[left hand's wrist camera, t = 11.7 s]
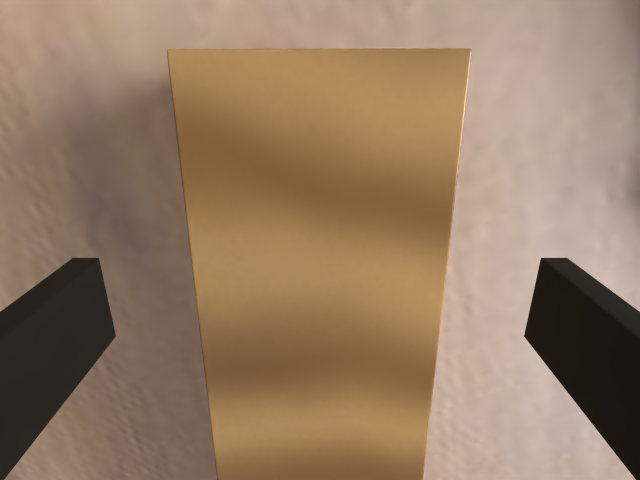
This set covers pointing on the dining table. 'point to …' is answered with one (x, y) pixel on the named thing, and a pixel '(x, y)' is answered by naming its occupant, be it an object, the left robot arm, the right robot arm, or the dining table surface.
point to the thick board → (319, 250)
